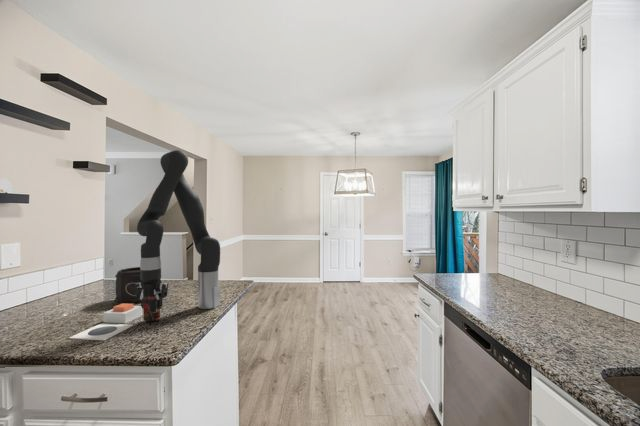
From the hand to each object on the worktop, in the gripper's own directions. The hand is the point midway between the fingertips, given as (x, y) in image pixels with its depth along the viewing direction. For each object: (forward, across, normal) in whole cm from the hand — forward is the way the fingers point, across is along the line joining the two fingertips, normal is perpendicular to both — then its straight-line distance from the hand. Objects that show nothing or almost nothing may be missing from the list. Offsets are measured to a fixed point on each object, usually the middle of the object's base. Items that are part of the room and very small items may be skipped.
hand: (151, 307), depth 126 cm
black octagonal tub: (+6, +29, -29) cm, 42 cm away
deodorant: (+5, 0, 0) cm, 5 cm away
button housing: (+6, +14, -2) cm, 16 cm away
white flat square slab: (+5, +12, +12) cm, 18 cm away
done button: (+3, +14, -2) cm, 15 cm away
